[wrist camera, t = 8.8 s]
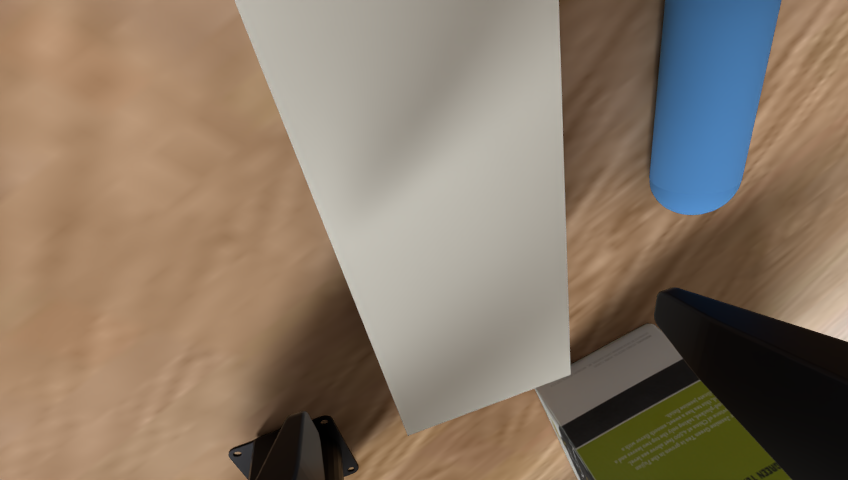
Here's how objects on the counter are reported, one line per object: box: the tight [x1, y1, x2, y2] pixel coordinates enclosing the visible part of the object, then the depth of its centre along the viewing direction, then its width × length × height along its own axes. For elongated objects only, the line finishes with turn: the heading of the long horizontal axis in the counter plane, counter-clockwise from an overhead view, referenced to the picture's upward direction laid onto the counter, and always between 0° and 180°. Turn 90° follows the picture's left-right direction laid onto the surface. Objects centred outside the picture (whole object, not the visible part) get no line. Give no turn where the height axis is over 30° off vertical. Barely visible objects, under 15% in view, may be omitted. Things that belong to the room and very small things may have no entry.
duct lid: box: [235, 0, 571, 436], centre depth 13 cm, size 21×8×2 cm, turn 13°
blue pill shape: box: [649, 0, 781, 215], centre depth 18 cm, size 16×4×4 cm, turn 13°
